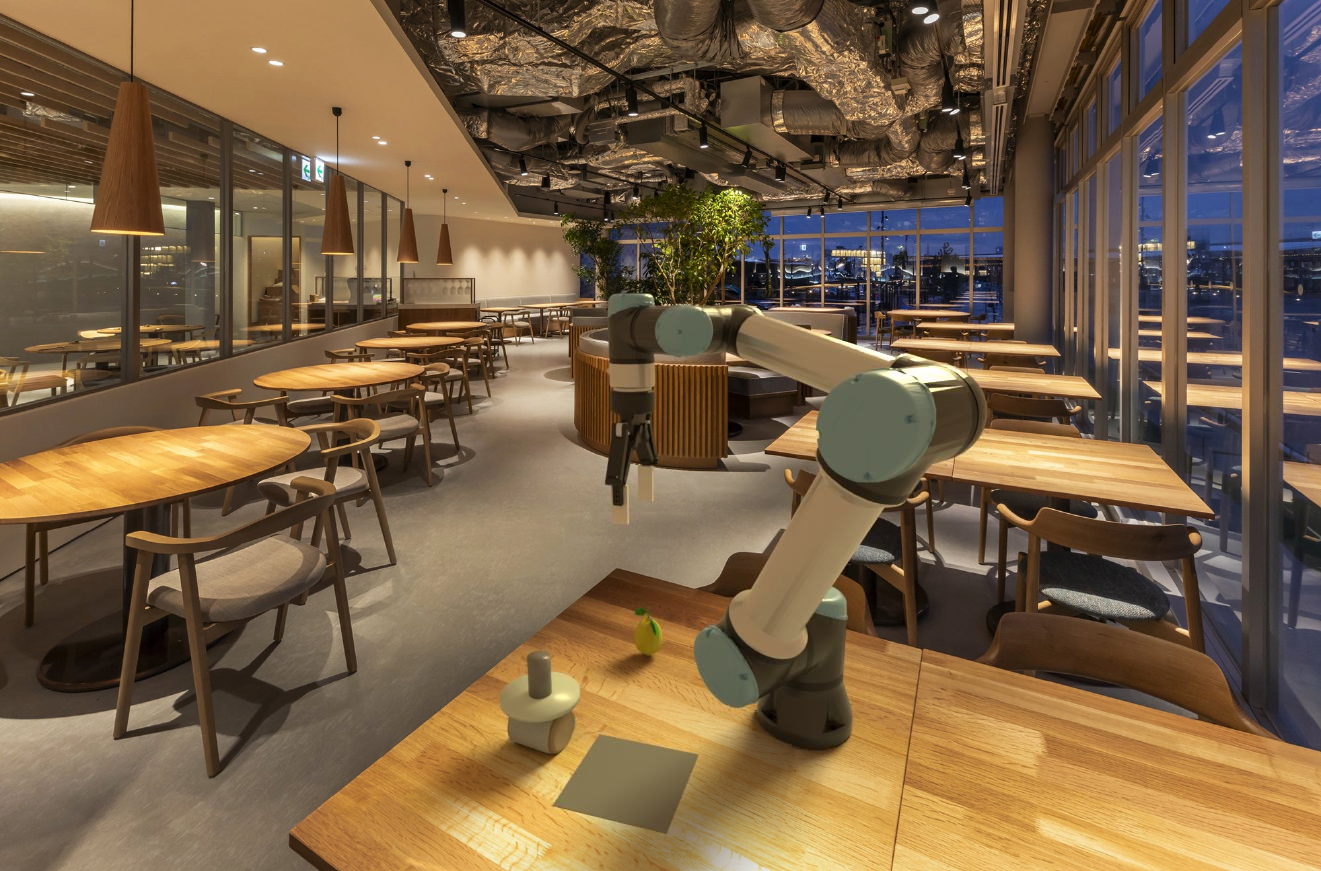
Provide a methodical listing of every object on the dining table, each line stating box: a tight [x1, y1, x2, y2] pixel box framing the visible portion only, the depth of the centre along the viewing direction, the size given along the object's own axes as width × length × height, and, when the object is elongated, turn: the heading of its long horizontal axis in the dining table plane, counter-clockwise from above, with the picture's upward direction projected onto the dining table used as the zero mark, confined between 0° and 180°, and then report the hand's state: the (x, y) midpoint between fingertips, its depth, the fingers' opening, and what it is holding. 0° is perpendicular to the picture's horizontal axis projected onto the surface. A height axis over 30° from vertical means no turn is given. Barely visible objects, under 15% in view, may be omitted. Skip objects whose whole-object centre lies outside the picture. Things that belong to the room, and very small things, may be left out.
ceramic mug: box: [507, 709, 578, 755], centre depth 104 cm, size 11×8×8 cm
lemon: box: [633, 606, 664, 657], centre depth 128 cm, size 7×6×10 cm
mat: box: [552, 733, 700, 834], centre depth 95 cm, size 16×16×1 cm
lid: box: [499, 650, 581, 723], centre depth 101 cm, size 12×12×7 cm
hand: (633, 511), depth 115 cm, fingers open, 13 cm apart
